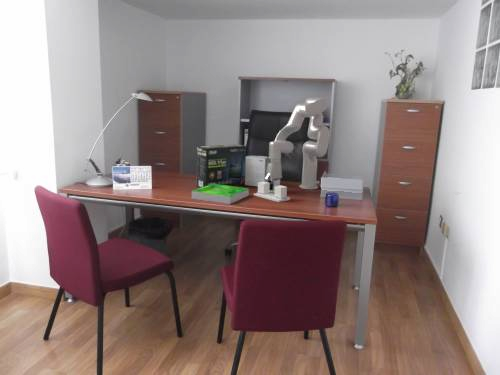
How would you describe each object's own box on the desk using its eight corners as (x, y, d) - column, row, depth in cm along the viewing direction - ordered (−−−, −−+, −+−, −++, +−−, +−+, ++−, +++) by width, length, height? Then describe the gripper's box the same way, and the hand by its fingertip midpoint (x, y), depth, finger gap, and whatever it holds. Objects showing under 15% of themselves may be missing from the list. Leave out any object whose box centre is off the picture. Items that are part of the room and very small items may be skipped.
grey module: (272, 190, 267) (273, 178, 265) (279, 191, 263) (280, 179, 261) (267, 191, 264) (267, 179, 262) (274, 193, 259) (274, 180, 258)
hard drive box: (269, 185, 282) (270, 157, 278) (264, 187, 275) (265, 158, 271) (249, 183, 289) (250, 155, 285) (244, 184, 282) (245, 156, 278)
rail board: (264, 193, 259) (265, 180, 257) (290, 199, 244) (290, 186, 242) (253, 195, 252) (254, 182, 250) (278, 202, 237) (279, 188, 235)
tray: (191, 199, 239) (191, 191, 238) (212, 191, 261) (212, 183, 260) (229, 205, 229) (230, 196, 228) (248, 196, 251) (248, 188, 250)
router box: (205, 189, 263) (206, 148, 258) (195, 186, 271) (195, 146, 266) (246, 183, 288) (247, 145, 282) (235, 180, 296) (236, 143, 290)
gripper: (279, 159, 267) (278, 186, 271) (260, 161, 256) (260, 190, 260) (288, 160, 262) (286, 188, 266) (269, 163, 251) (268, 192, 254)
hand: (273, 188), depth 263 cm, fingers closed on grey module, 5 cm apart
